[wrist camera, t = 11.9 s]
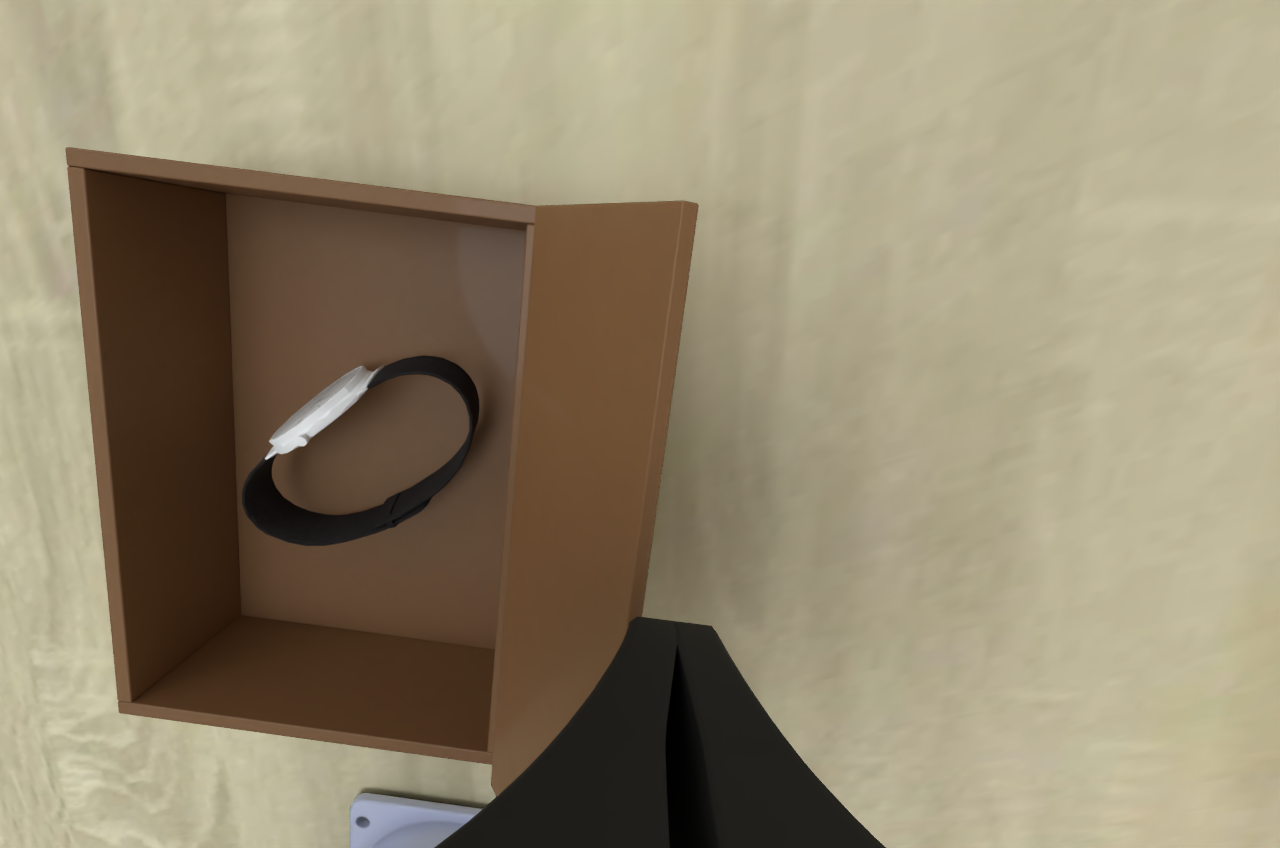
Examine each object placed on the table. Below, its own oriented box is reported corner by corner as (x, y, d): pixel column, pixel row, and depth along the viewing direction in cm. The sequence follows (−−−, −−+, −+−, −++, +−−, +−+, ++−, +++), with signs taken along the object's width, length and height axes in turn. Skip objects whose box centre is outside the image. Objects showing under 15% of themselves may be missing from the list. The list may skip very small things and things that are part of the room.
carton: (577, 224, 18) (545, 207, 14) (537, 657, 22) (500, 766, 17) (221, 179, 19) (63, 146, 14) (238, 617, 22) (118, 713, 17)
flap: (535, 205, 13) (548, 207, 13) (490, 784, 16) (501, 780, 17) (682, 199, 9) (699, 203, 9) (579, 979, 12) (593, 972, 12)
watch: (435, 311, 19) (382, 320, 15) (526, 437, 20) (495, 473, 16) (251, 444, 20) (162, 479, 17) (343, 556, 21) (277, 614, 17)
